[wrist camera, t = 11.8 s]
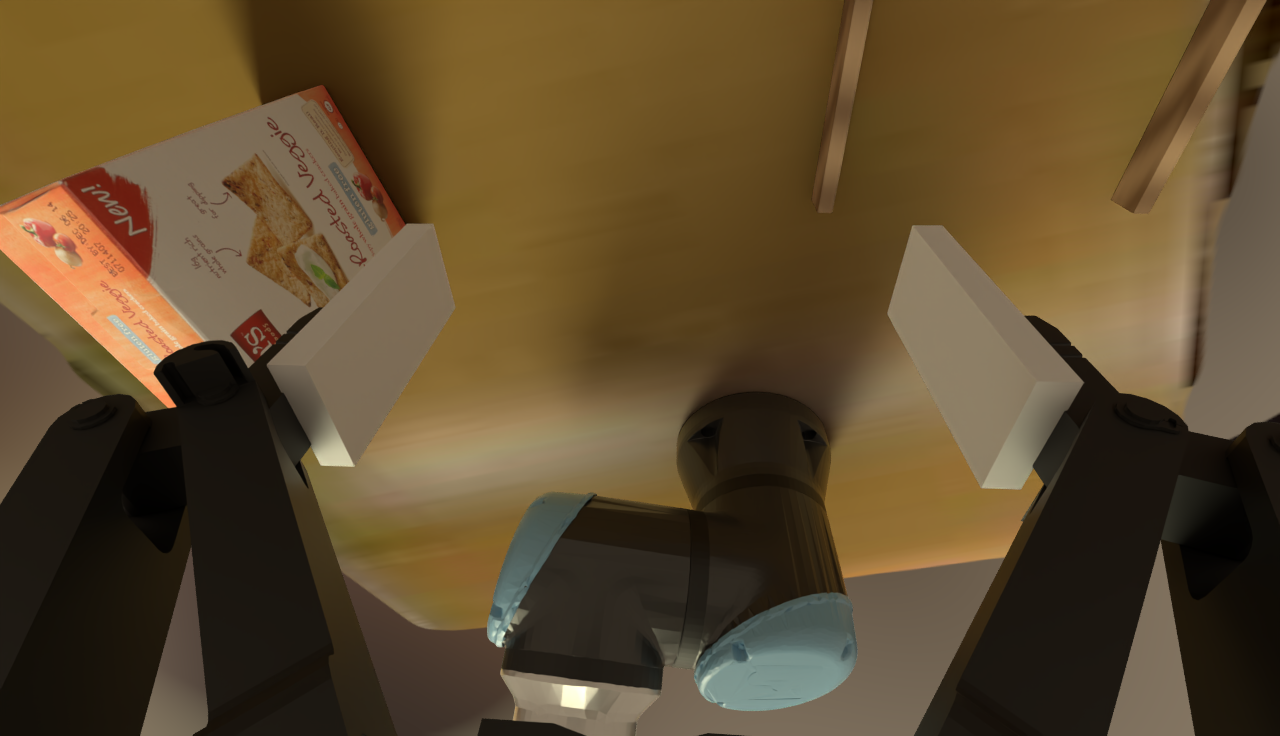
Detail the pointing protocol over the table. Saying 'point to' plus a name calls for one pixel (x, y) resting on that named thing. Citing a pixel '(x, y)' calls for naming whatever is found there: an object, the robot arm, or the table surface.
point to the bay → (1159, 146)
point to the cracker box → (207, 233)
